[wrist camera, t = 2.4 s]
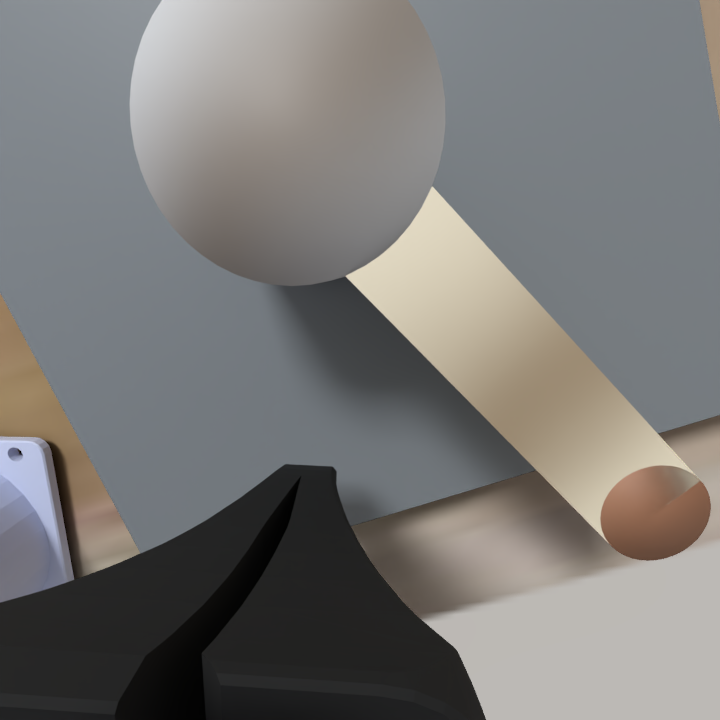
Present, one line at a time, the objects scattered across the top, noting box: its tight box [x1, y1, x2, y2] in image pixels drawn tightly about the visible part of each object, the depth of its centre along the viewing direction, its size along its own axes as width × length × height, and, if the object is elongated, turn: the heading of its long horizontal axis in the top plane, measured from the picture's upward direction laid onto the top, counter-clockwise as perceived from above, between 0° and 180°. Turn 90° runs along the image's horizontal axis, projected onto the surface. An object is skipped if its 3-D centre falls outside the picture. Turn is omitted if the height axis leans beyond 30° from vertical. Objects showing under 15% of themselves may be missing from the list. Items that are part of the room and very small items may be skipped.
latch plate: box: [0, 0, 720, 553], centre depth 12 cm, size 20×20×2 cm
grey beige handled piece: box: [130, 0, 711, 560], centre depth 9 cm, size 13×5×4 cm, turn 45°
